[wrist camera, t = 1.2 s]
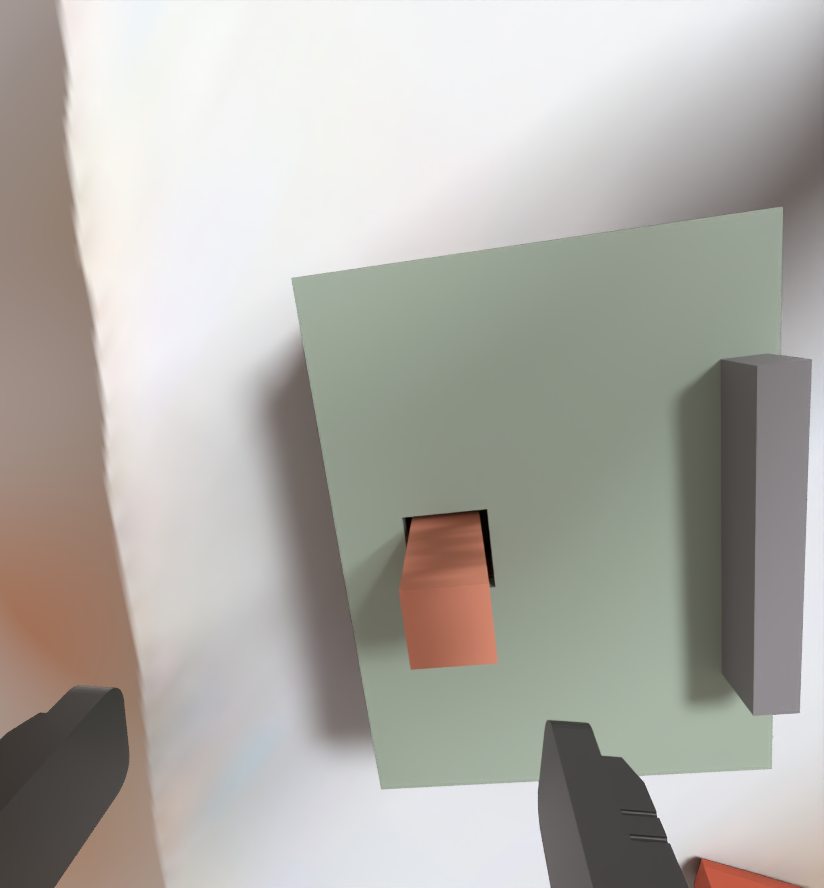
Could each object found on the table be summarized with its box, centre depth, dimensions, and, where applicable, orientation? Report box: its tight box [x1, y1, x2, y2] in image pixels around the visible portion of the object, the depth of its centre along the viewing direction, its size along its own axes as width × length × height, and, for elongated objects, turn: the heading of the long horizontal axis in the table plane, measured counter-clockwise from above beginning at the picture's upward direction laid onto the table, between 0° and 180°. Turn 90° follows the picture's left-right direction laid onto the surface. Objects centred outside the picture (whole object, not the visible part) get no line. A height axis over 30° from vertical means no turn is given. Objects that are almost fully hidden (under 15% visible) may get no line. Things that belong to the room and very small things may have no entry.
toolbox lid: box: [291, 206, 812, 789], centre depth 26 cm, size 21×28×4 cm
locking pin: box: [399, 510, 498, 670], centre depth 27 cm, size 3×3×12 cm
